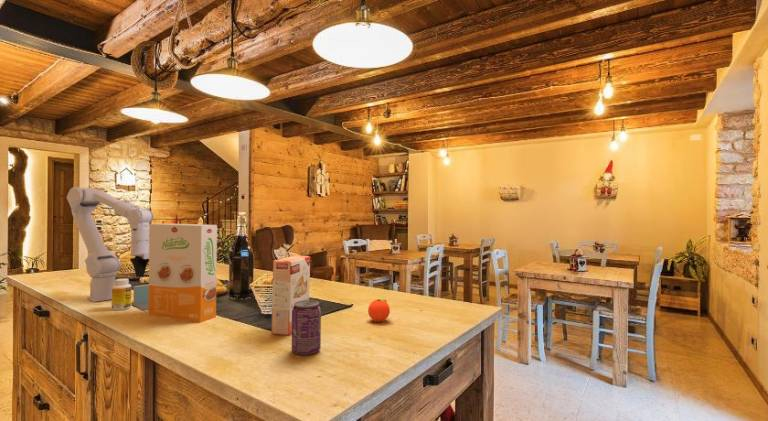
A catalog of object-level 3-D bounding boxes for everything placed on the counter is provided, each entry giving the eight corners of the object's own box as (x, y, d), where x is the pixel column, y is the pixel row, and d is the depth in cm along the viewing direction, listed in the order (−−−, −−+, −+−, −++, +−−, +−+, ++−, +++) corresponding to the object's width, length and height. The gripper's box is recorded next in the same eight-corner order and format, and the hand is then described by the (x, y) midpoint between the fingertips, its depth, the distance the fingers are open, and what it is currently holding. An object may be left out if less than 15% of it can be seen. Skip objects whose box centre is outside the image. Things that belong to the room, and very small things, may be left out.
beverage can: (308, 344, 99) (308, 298, 99) (326, 350, 94) (326, 302, 94) (285, 351, 93) (286, 303, 93) (303, 359, 89) (304, 308, 89)
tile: (133, 303, 138) (133, 286, 138) (151, 301, 143) (151, 283, 143) (134, 304, 137) (135, 286, 137) (153, 301, 142) (153, 284, 142)
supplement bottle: (126, 310, 129) (127, 280, 129) (108, 311, 128) (108, 281, 128) (133, 306, 135) (134, 277, 135) (116, 307, 133) (116, 278, 133)
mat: (132, 305, 136) (132, 304, 136) (159, 300, 143) (159, 300, 143) (143, 310, 129) (143, 309, 129) (171, 305, 136) (171, 304, 136)
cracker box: (290, 336, 105) (291, 261, 105) (270, 334, 106) (271, 260, 106) (310, 321, 118) (311, 255, 118) (292, 320, 120) (293, 254, 120)
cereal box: (215, 317, 122) (217, 225, 122) (200, 322, 116) (201, 225, 116) (165, 310, 130) (166, 223, 130) (148, 314, 124) (149, 224, 124)
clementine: (378, 316, 126) (378, 294, 126) (395, 319, 122) (395, 297, 122) (363, 321, 119) (363, 299, 119) (381, 325, 115) (381, 302, 115)
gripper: (159, 241, 141) (159, 277, 141) (145, 239, 150) (144, 273, 150) (137, 242, 135) (137, 279, 135) (124, 239, 145) (124, 275, 145)
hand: (140, 276), depth 142 cm, fingers closed
